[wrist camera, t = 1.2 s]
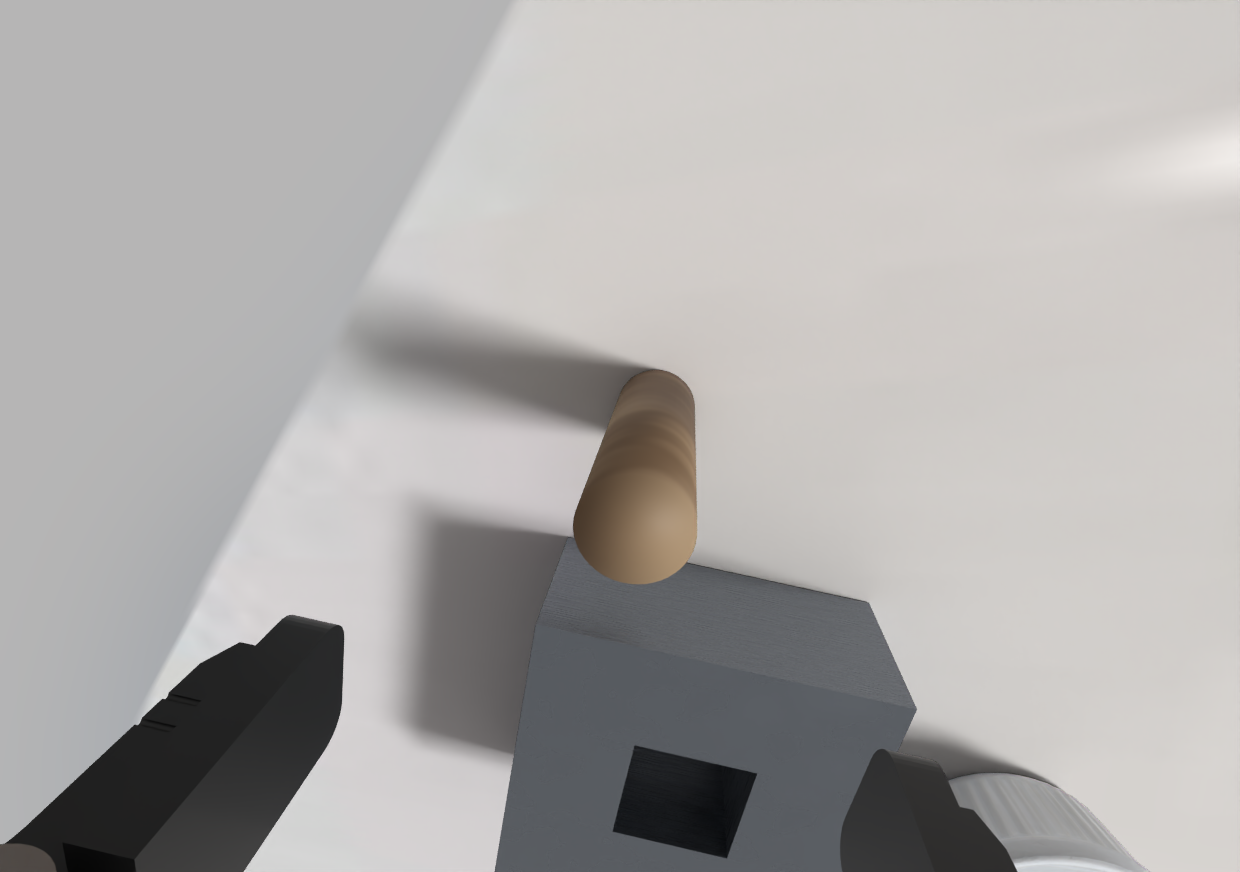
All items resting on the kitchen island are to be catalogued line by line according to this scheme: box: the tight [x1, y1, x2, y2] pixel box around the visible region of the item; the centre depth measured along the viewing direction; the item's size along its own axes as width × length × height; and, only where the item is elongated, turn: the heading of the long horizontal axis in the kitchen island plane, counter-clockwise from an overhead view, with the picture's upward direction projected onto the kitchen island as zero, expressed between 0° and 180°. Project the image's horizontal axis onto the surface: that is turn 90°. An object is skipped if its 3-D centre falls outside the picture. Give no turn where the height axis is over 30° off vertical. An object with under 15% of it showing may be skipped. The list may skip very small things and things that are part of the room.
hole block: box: [495, 537, 917, 872], centre depth 26 cm, size 13×13×6 cm
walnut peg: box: [573, 370, 697, 584], centre depth 20 cm, size 3×3×10 cm
